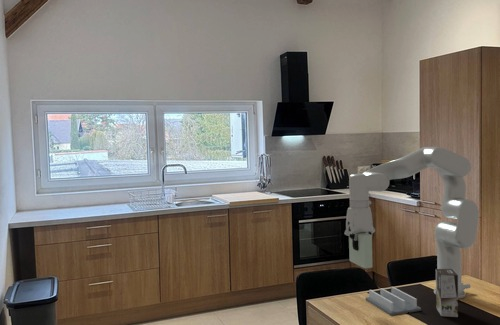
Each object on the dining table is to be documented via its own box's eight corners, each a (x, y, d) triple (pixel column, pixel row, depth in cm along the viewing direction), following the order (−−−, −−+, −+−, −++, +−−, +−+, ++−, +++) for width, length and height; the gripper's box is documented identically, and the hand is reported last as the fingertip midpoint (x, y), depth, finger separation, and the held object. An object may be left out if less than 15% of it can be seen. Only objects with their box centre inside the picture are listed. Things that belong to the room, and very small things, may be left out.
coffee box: (458, 317, 168) (458, 275, 167) (440, 316, 169) (440, 274, 168) (452, 308, 177) (452, 268, 176) (435, 307, 178) (435, 268, 177)
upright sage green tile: (357, 260, 187) (356, 229, 186) (372, 267, 175) (371, 234, 175) (349, 260, 186) (348, 230, 185) (364, 268, 174) (363, 235, 174)
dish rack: (394, 295, 193) (393, 285, 192) (421, 310, 175) (420, 299, 175) (365, 299, 189) (365, 289, 188) (390, 315, 171) (390, 304, 171)
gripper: (372, 201, 185) (373, 245, 186) (336, 204, 181) (337, 249, 181) (382, 204, 178) (383, 249, 179) (345, 207, 173) (346, 253, 174)
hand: (360, 248), depth 180 cm, fingers closed on upright sage green tile, 3 cm apart
